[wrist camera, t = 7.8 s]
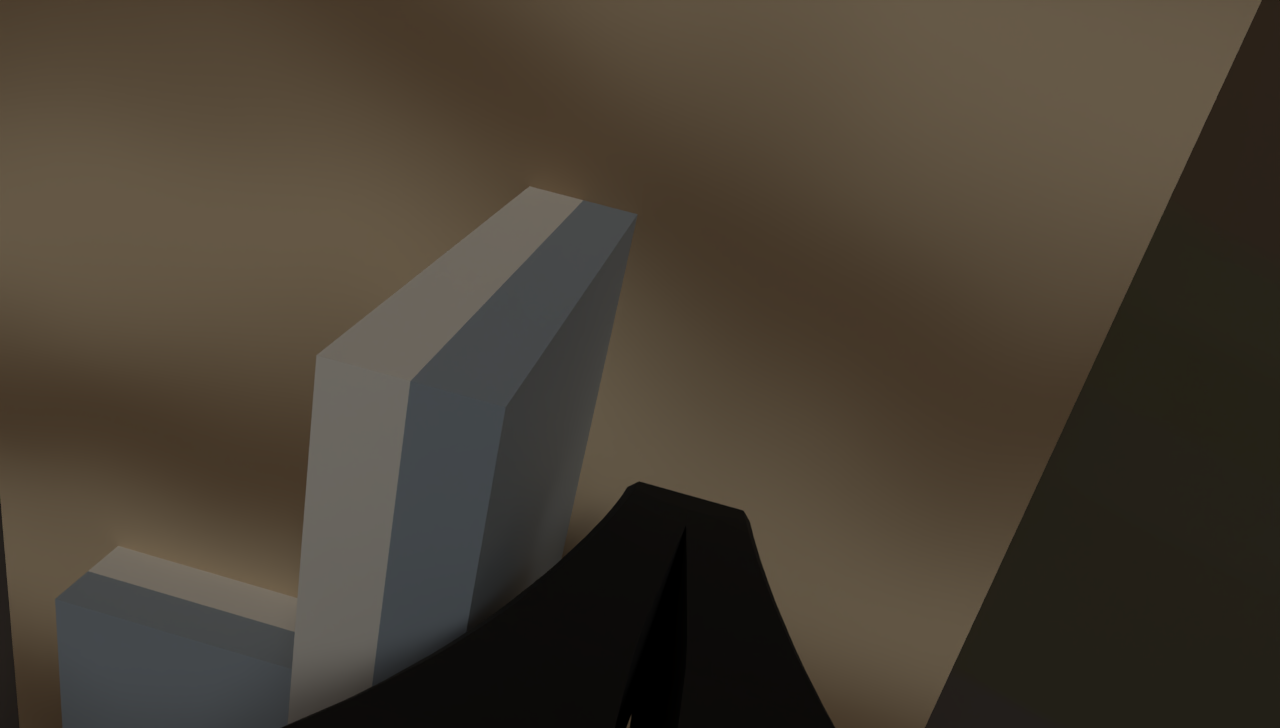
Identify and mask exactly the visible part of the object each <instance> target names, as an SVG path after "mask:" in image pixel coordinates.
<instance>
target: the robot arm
mask: <svg viewBox="0 0 1280 728" xmlns="http://www.w3.org/2000/svg"><path fill="white" fill-rule="evenodd" d="M630 717H631V721H630V728H835V726H834V724H833V722H832V721H831V719H830V717H829V715H828V713H827V711H826V710H825V708H824V706H823V704H822V702H821V700H820V698H819V696H818V694H817V692H816V690H815V688H814V686H813V684H812V682H811V680H810V678H809V676H808V674H807V672H806V670H805V668H804V666H803V664H802V662H801V660H800V658H799V655H798V653H797V651H796V649H795V647H794V645H793V642H792V640H791V637H790V635H789V633H788V630H787V628H786V626H785V623H784V621H783V618H782V616H781V614H780V611H779V609H778V606H777V604H776V601H775V599H774V596H773V594H772V591H771V588H770V586H769V583H768V580H767V577H766V574H765V571H764V568H763V565H762V563H761V559H760V556H759V553H758V550H757V546H756V543H755V540H754V536H753V532H752V528H751V524H750V521H749V519H748V517H747V516H746V514H745V512H744V510H740V509H736V508H733V507H729V506H726V505H722V504H719V503H715V502H711V501H708V500H704V499H701V498H697V497H694V496H690V495H686V494H683V493H679V492H676V491H672V490H669V489H665V488H661V487H658V486H654V485H651V484H647V483H644V482H640V481H639V482H636V483H634V484H632V485H630V486H628V487H627V488H626V490H625V491H624V493H623V495H622V496H621V497H620V499H619V500H618V501H617V502H616V504H615V505H614V506H613V507H612V509H611V510H610V511H609V512H608V513H607V514H606V516H605V517H604V518H603V519H602V520H601V521H600V522H599V523H598V524H597V525H596V526H595V527H594V528H593V529H592V530H591V532H590V533H589V534H588V535H587V536H586V537H585V538H583V539H582V540H581V541H580V542H579V543H578V544H577V545H576V546H575V547H574V548H573V549H572V550H571V551H570V552H568V553H567V554H566V555H565V556H564V557H563V558H562V559H561V560H560V561H559V562H558V563H557V564H556V565H554V566H553V567H552V568H551V569H550V570H549V571H547V572H546V573H545V574H544V575H543V576H541V577H540V578H539V579H538V580H536V581H535V582H534V583H533V584H531V585H530V586H529V587H527V588H526V589H525V590H524V591H522V592H521V593H520V594H519V595H517V596H516V597H515V598H514V599H512V600H511V601H510V602H509V603H507V604H506V605H505V606H503V607H502V608H501V609H499V610H498V611H497V612H495V613H494V614H492V615H491V616H489V617H488V618H487V619H485V620H484V621H482V622H481V623H479V624H478V625H477V626H475V627H474V628H472V629H471V630H469V631H468V632H466V633H464V634H463V635H461V636H460V637H458V638H457V639H455V640H453V641H452V642H450V643H449V644H447V645H445V646H444V647H442V648H441V649H439V650H437V651H436V652H434V653H432V654H431V655H429V656H427V657H425V658H424V659H422V660H420V661H418V662H416V663H415V664H413V665H411V666H409V667H407V668H406V669H404V670H402V671H400V672H398V673H397V674H395V675H393V676H391V677H389V678H388V679H386V680H384V681H382V682H380V683H378V684H376V685H374V686H372V687H370V688H368V689H366V690H364V691H362V692H360V693H358V694H356V695H354V696H352V697H350V698H348V699H346V700H344V701H341V702H339V703H337V704H334V705H332V706H330V707H327V708H325V709H323V710H320V711H318V712H316V713H314V714H311V715H309V716H307V717H304V718H302V719H300V720H297V721H295V722H293V723H290V724H288V725H286V726H283V727H281V728H627V725H628V722H629V720H630Z"/></svg>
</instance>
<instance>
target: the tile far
mask: <svg viewBox="0 0 1280 728" xmlns="http://www.w3.org/2000/svg"><path fill="white" fill-rule="evenodd" d="M55 607H56V624H57V641H58V659H59V676H60V693H61V711H62V728H281V727H283V726H286V725H288V712H289V700H290V687H291V674H292V661H293V648H294V636H295V623H296V610H297V598H295V597H292V596H288V595H285V594H282V593H278V592H275V591H271V590H268V589H264V588H261V587H258V586H254V585H251V584H247V583H244V582H240V581H237V580H234V579H230V578H227V577H223V576H220V575H216V574H213V573H210V572H206V571H203V570H199V569H196V568H192V567H189V566H186V565H182V564H179V563H175V562H172V561H168V560H165V559H162V558H158V557H155V556H151V555H148V554H144V553H141V552H138V551H134V550H131V549H127V548H124V547H120V546H117V547H116V548H115V549H114V550H113V551H111V552H110V553H109V554H108V555H107V556H105V557H104V558H103V559H102V560H101V561H100V562H98V563H97V564H96V565H95V566H94V567H92V568H91V569H90V570H89V571H88V572H86V573H85V574H84V575H83V576H82V577H81V578H79V579H78V580H77V581H76V582H75V583H73V584H72V585H71V586H70V587H69V588H67V589H66V590H65V591H64V592H63V593H62V594H60V595H59V596H58V597H57V598H56V599H55Z"/></svg>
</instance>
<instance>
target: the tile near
mask: <svg viewBox="0 0 1280 728" xmlns="http://www.w3.org/2000/svg"><path fill="white" fill-rule="evenodd" d="M637 215H638V214H635V213H631V212H627V211H623V210H619V209H615V208H611V207H608V206H604V205H600V204H596V203H592V202H588V201H584V200H581V199H577V198H573V197H569V196H565V195H561V194H557V193H553V192H550V191H546V190H542V189H538V188H534V187H530V186H529V187H528V188H527V189H525V190H524V191H523V192H522V193H520V194H519V195H518V196H517V197H515V198H514V199H513V200H512V201H510V202H509V203H508V204H507V205H505V206H504V207H503V208H501V209H500V210H499V211H498V212H496V213H495V214H494V215H493V216H491V217H490V218H489V219H488V220H486V221H485V222H484V223H483V224H481V225H480V226H479V227H478V228H476V229H475V230H474V231H472V232H471V233H470V234H469V235H467V236H466V237H465V238H464V239H462V240H461V241H460V242H459V243H457V244H456V245H455V246H454V247H452V248H451V249H450V250H449V251H447V252H446V253H445V254H443V255H442V256H441V257H440V258H438V259H437V260H436V261H435V262H433V263H432V264H431V265H430V266H428V267H427V268H426V269H425V270H423V271H422V272H421V273H419V274H418V275H417V276H416V277H414V278H413V279H412V280H411V281H409V282H408V283H407V284H406V285H404V286H403V287H402V288H401V289H399V290H398V291H397V292H396V293H394V294H393V295H392V296H390V297H389V298H388V299H387V300H385V301H384V302H383V303H382V304H380V305H379V306H378V307H377V308H375V309H374V310H373V311H372V312H370V313H369V314H368V315H367V316H365V317H364V318H363V319H361V320H360V321H359V322H358V323H356V324H355V325H354V326H353V327H351V328H350V329H349V330H348V331H346V332H345V333H344V334H343V335H341V336H340V337H339V338H337V339H336V340H335V341H334V342H332V343H331V344H330V345H329V346H327V347H326V348H325V349H324V350H322V351H321V352H320V353H319V354H317V355H316V367H315V380H314V392H313V405H312V418H311V431H310V444H309V456H308V469H307V482H306V495H305V508H304V520H303V533H302V546H301V559H300V572H299V584H298V597H297V610H296V623H295V636H294V648H293V661H292V674H291V687H290V700H289V712H288V724H290V723H293V722H295V721H297V720H300V719H302V718H304V717H307V716H309V715H311V714H314V713H316V712H318V711H320V710H323V709H325V708H327V707H330V706H332V705H334V704H337V703H339V702H341V701H344V700H346V699H348V698H350V697H352V696H354V695H356V694H358V693H360V692H362V691H364V690H366V689H368V688H370V687H372V686H374V685H376V684H378V683H380V682H382V681H384V680H386V679H388V678H389V677H391V676H393V675H395V674H397V673H398V672H400V671H402V670H404V669H406V668H407V667H409V666H411V665H413V664H415V663H416V662H418V661H420V660H422V659H424V658H425V657H427V656H429V655H431V654H432V653H434V652H436V651H437V650H439V649H441V648H442V647H444V646H445V645H447V644H449V643H450V642H452V641H453V640H455V639H457V638H458V637H460V636H461V635H463V634H464V633H466V632H468V631H469V630H471V629H472V628H474V627H475V626H477V625H478V624H479V623H481V622H482V621H484V620H485V619H487V618H488V617H489V616H491V615H492V614H494V613H495V612H497V611H498V610H499V609H501V608H502V607H503V606H505V605H506V604H507V603H509V602H510V601H511V600H512V599H514V598H515V597H516V596H517V595H519V594H520V593H521V592H522V591H524V590H525V589H526V588H527V587H529V586H530V585H531V584H533V583H534V582H535V581H536V580H538V579H539V578H540V577H541V576H543V575H544V574H545V573H546V572H547V571H549V570H550V569H551V568H552V567H553V566H554V565H556V564H557V563H558V562H559V561H560V560H561V559H562V554H563V549H564V545H565V540H566V536H567V531H568V527H569V522H570V518H571V513H572V509H573V504H574V500H575V495H576V491H577V486H578V482H579V477H580V473H581V468H582V464H583V459H584V455H585V450H586V446H587V441H588V436H589V432H590V427H591V423H592V418H593V414H594V409H595V405H596V400H597V396H598V391H599V387H600V382H601V378H602V373H603V369H604V364H605V360H606V355H607V351H608V346H609V342H610V337H611V333H612V328H613V323H614V319H615V314H616V310H617V305H618V301H619V296H620V292H621V287H622V283H623V278H624V274H625V269H626V265H627V260H628V256H629V251H630V247H631V242H632V238H633V233H634V229H635V224H636V219H637Z"/></svg>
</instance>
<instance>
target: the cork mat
mask: <svg viewBox="0 0 1280 728" xmlns="http://www.w3.org/2000/svg"><path fill="white" fill-rule="evenodd" d="M1260 3H1261V0H0V499H1V511H2V523H3V534H4V546H5V558H6V570H7V582H8V594H9V606H10V618H11V630H12V642H13V654H14V666H15V678H16V690H17V702H18V714H19V726H20V728H62V711H61V693H60V676H59V659H58V641H57V624H56V607H55V599H56V598H57V597H58V596H59V595H60V594H62V593H63V592H64V591H65V590H66V589H67V588H69V587H70V586H71V585H72V584H73V583H75V582H76V581H77V580H78V579H79V578H81V577H82V576H83V575H84V574H85V573H86V572H88V571H89V570H90V569H91V568H92V567H94V566H95V565H96V564H97V563H98V562H100V561H101V560H102V559H103V558H104V557H105V556H107V555H108V554H109V553H110V552H111V551H113V550H114V549H115V548H116V547H117V546H120V547H124V548H127V549H131V550H134V551H138V552H141V553H144V554H148V555H151V556H155V557H158V558H162V559H165V560H168V561H172V562H175V563H179V564H182V565H186V566H189V567H192V568H196V569H199V570H203V571H206V572H210V573H213V574H216V575H220V576H223V577H227V578H230V579H234V580H237V581H240V582H244V583H247V584H251V585H254V586H258V587H261V588H264V589H268V590H271V591H275V592H278V593H282V594H285V595H288V596H292V597H295V598H297V597H298V584H299V572H300V559H301V546H302V533H303V520H304V508H305V495H306V482H307V469H308V456H309V444H310V431H311V418H312V405H313V392H314V380H315V367H316V355H317V354H319V353H320V352H321V351H322V350H324V349H325V348H326V347H327V346H329V345H330V344H331V343H332V342H334V341H335V340H336V339H337V338H339V337H340V336H341V335H343V334H344V333H345V332H346V331H348V330H349V329H350V328H351V327H353V326H354V325H355V324H356V323H358V322H359V321H360V320H361V319H363V318H364V317H365V316H367V315H368V314H369V313H370V312H372V311H373V310H374V309H375V308H377V307H378V306H379V305H380V304H382V303H383V302H384V301H385V300H387V299H388V298H389V297H390V296H392V295H393V294H394V293H396V292H397V291H398V290H399V289H401V288H402V287H403V286H404V285H406V284H407V283H408V282H409V281H411V280H412V279H413V278H414V277H416V276H417V275H418V274H419V273H421V272H422V271H423V270H425V269H426V268H427V267H428V266H430V265H431V264H432V263H433V262H435V261H436V260H437V259H438V258H440V257H441V256H442V255H443V254H445V253H446V252H447V251H449V250H450V249H451V248H452V247H454V246H455V245H456V244H457V243H459V242H460V241H461V240H462V239H464V238H465V237H466V236H467V235H469V234H470V233H471V232H472V231H474V230H475V229H476V228H478V227H479V226H480V225H481V224H483V223H484V222H485V221H486V220H488V219H489V218H490V217H491V216H493V215H494V214H495V213H496V212H498V211H499V210H500V209H501V208H503V207H504V206H505V205H507V204H508V203H509V202H510V201H512V200H513V199H514V198H515V197H517V196H518V195H519V194H520V193H522V192H523V191H524V190H525V189H527V188H528V187H529V186H530V187H534V188H538V189H542V190H546V191H550V192H553V193H557V194H561V195H565V196H569V197H573V198H577V199H581V200H584V201H588V202H592V203H596V204H600V205H604V206H608V207H611V208H615V209H619V210H623V211H627V212H631V213H635V214H638V215H637V219H636V224H635V229H634V233H633V238H632V242H631V247H630V251H629V256H628V260H627V265H626V269H625V274H624V278H623V283H622V287H621V292H620V296H619V301H618V305H617V310H616V314H615V319H614V323H613V328H612V333H611V337H610V342H609V346H608V351H607V355H606V360H605V364H604V369H603V373H602V378H601V382H600V387H599V391H598V396H597V400H596V405H595V409H594V414H593V418H592V423H591V427H590V432H589V436H588V441H587V446H586V450H585V455H584V459H583V464H582V468H581V473H580V477H579V482H578V486H577V491H576V495H575V500H574V504H573V509H572V513H571V518H570V522H569V527H568V531H567V536H566V540H565V545H564V549H563V554H562V558H563V557H564V556H565V555H566V554H567V553H568V552H570V551H571V550H572V549H573V548H574V547H575V546H576V545H577V544H578V543H579V542H580V541H581V540H582V539H583V538H585V537H586V536H587V535H588V534H589V533H590V532H591V530H592V529H593V528H594V527H595V526H596V525H597V524H598V523H599V522H600V521H601V520H602V519H603V518H604V517H605V516H606V514H607V513H608V512H609V511H610V510H611V509H612V507H613V506H614V505H615V504H616V502H617V501H618V500H619V499H620V497H621V496H622V495H623V493H624V491H625V490H626V488H627V487H628V486H630V485H632V484H634V483H636V482H639V481H640V482H644V483H647V484H651V485H654V486H658V487H661V488H665V489H669V490H672V491H676V492H679V493H683V494H686V495H690V496H694V497H697V498H701V499H704V500H708V501H711V502H715V503H719V504H722V505H726V506H729V507H733V508H736V509H740V510H744V512H745V514H746V516H747V517H748V519H749V521H750V524H751V528H752V532H753V536H754V540H755V543H756V546H757V550H758V553H759V556H760V559H761V563H762V565H763V568H764V571H765V574H766V577H767V580H768V583H769V586H770V588H771V591H772V594H773V596H774V599H775V601H776V604H777V606H778V609H779V611H780V614H781V616H782V618H783V621H784V623H785V626H786V628H787V630H788V633H789V635H790V637H791V640H792V642H793V645H794V647H795V649H796V651H797V653H798V655H799V658H800V660H801V662H802V664H803V666H804V668H805V670H806V672H807V674H808V676H809V678H810V680H811V682H812V684H813V686H814V688H815V690H816V692H817V694H818V696H819V698H820V700H821V702H822V704H823V706H824V708H825V710H826V711H827V713H828V715H829V717H830V719H831V721H832V722H833V724H834V726H835V728H925V726H926V724H927V721H928V719H929V717H930V715H931V713H932V711H933V708H934V706H935V704H936V702H937V700H938V698H939V695H940V693H941V691H942V689H943V687H944V685H945V682H946V680H947V678H948V676H949V674H950V672H951V670H952V667H953V665H954V663H955V661H956V659H957V657H958V654H959V652H960V650H961V648H962V646H963V644H964V641H965V639H966V637H967V635H968V633H969V631H970V629H971V626H972V624H973V622H974V620H975V618H976V616H977V613H978V611H979V609H980V607H981V605H982V603H983V600H984V598H985V596H986V594H987V592H988V590H989V588H990V585H991V583H992V581H993V579H994V577H995V575H996V572H997V570H998V568H999V566H1000V564H1001V562H1002V559H1003V557H1004V555H1005V553H1006V551H1007V549H1008V547H1009V544H1010V542H1011V540H1012V538H1013V536H1014V534H1015V531H1016V529H1017V527H1018V525H1019V523H1020V521H1021V518H1022V516H1023V514H1024V512H1025V510H1026V508H1027V505H1028V503H1029V501H1030V499H1031V497H1032V495H1033V493H1034V490H1035V488H1036V486H1037V484H1038V482H1039V480H1040V477H1041V475H1042V473H1043V471H1044V469H1045V467H1046V464H1047V462H1048V460H1049V458H1050V456H1051V454H1052V452H1053V449H1054V447H1055V445H1056V443H1057V441H1058V439H1059V436H1060V434H1061V432H1062V430H1063V428H1064V426H1065V423H1066V421H1067V419H1068V417H1069V415H1070V413H1071V411H1072V408H1073V406H1074V404H1075V402H1076V400H1077V398H1078V395H1079V393H1080V391H1081V389H1082V387H1083V385H1084V382H1085V380H1086V378H1087V376H1088V374H1089V372H1090V370H1091V367H1092V365H1093V363H1094V361H1095V359H1096V357H1097V354H1098V352H1099V350H1100V348H1101V346H1102V344H1103V341H1104V339H1105V337H1106V335H1107V333H1108V331H1109V328H1110V326H1111V324H1112V322H1113V320H1114V318H1115V316H1116V313H1117V311H1118V309H1119V307H1120V305H1121V303H1122V300H1123V298H1124V296H1125V294H1126V292H1127V290H1128V287H1129V285H1130V283H1131V281H1132V279H1133V277H1134V275H1135V272H1136V270H1137V268H1138V266H1139V264H1140V262H1141V259H1142V257H1143V255H1144V253H1145V251H1146V249H1147V246H1148V244H1149V242H1150V240H1151V238H1152V236H1153V234H1154V231H1155V229H1156V227H1157V225H1158V223H1159V221H1160V218H1161V216H1162V214H1163V212H1164V210H1165V208H1166V205H1167V203H1168V201H1169V199H1170V197H1171V195H1172V192H1173V190H1174V188H1175V186H1176V184H1177V182H1178V180H1179V177H1180V175H1181V173H1182V171H1183V169H1184V167H1185V164H1186V162H1187V160H1188V158H1189V156H1190V154H1191V151H1192V149H1193V147H1194V145H1195V143H1196V141H1197V139H1198V136H1199V134H1200V132H1201V130H1202V128H1203V126H1204V123H1205V121H1206V119H1207V117H1208V115H1209V113H1210V110H1211V108H1212V106H1213V104H1214V102H1215V100H1216V98H1217V95H1218V93H1219V91H1220V89H1221V87H1222V85H1223V82H1224V80H1225V78H1226V76H1227V74H1228V72H1229V69H1230V67H1231V65H1232V63H1233V61H1234V59H1235V57H1236V54H1237V52H1238V50H1239V48H1240V46H1241V44H1242V41H1243V39H1244V37H1245V35H1246V33H1247V31H1248V28H1249V26H1250V24H1251V22H1252V20H1253V18H1254V15H1255V13H1256V11H1257V9H1258V7H1259V5H1260ZM630 721H631V717H630V720H629V722H628V725H627V728H630Z"/></svg>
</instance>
